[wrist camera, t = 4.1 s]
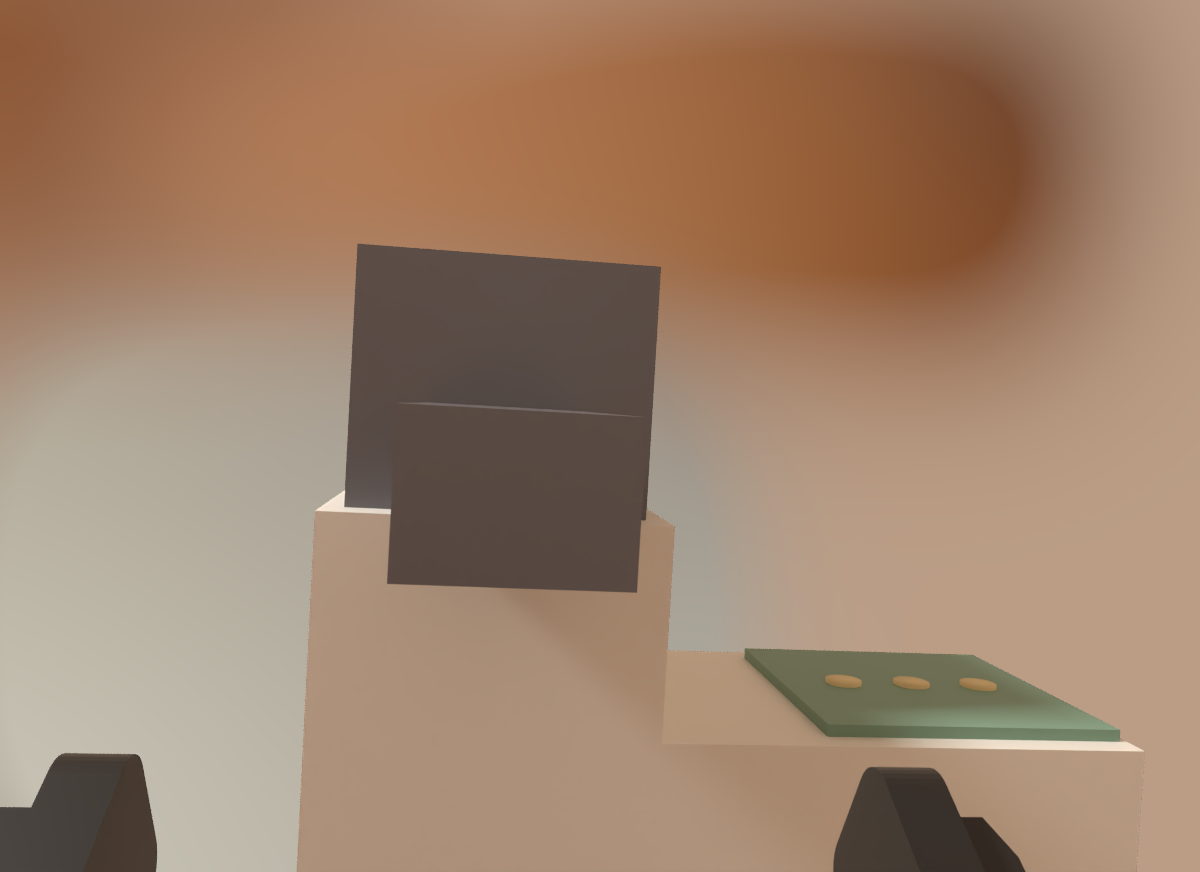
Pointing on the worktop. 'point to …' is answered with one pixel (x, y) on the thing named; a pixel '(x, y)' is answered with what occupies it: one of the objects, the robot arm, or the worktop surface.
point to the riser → (652, 734)
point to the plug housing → (503, 416)
